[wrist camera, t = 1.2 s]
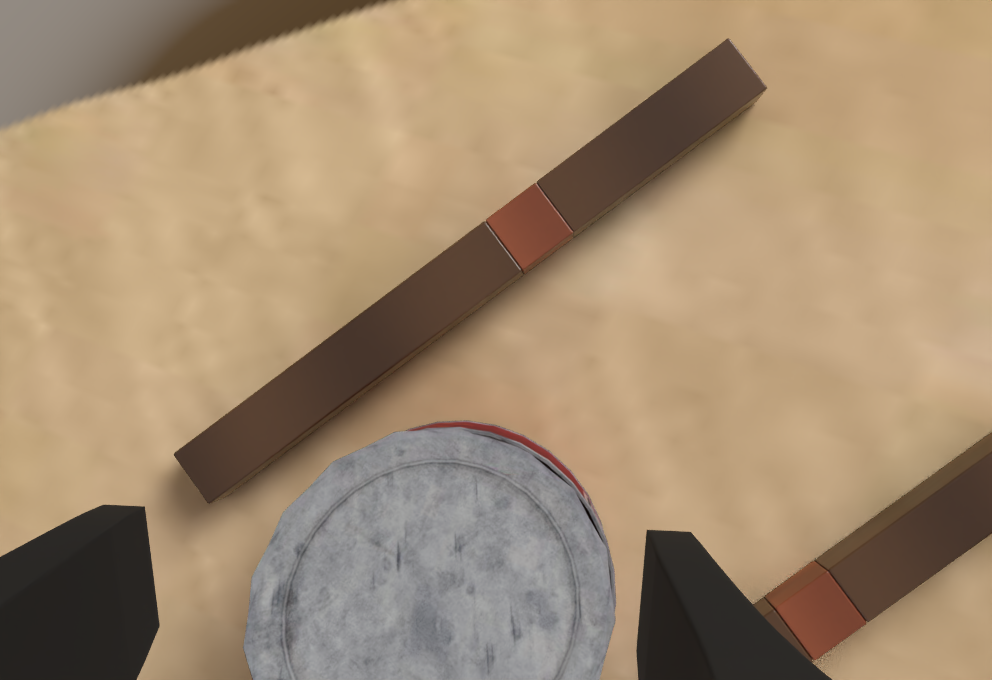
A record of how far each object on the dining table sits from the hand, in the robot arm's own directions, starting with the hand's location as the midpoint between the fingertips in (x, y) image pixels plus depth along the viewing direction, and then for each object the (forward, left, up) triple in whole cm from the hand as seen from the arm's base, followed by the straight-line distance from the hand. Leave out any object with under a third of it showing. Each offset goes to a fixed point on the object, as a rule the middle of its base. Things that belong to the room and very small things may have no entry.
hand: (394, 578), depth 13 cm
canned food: (-3, -3, -18) cm, 18 cm away
